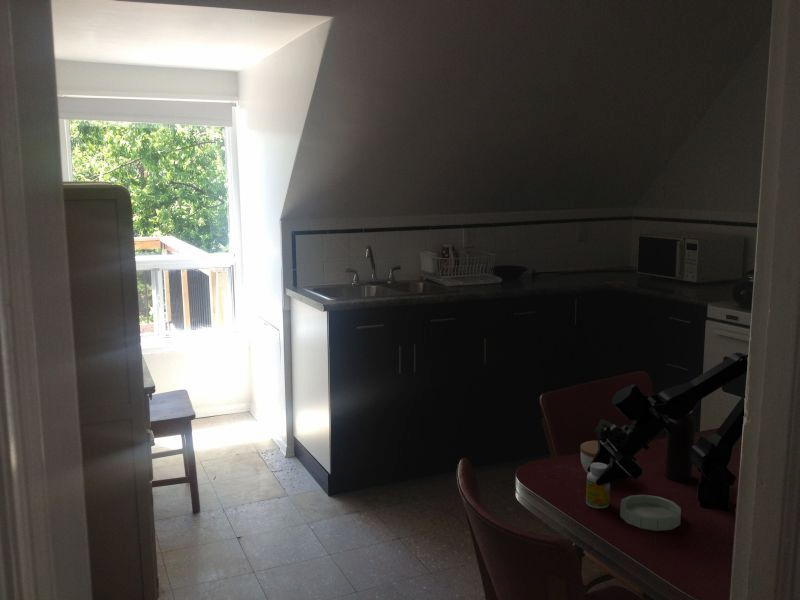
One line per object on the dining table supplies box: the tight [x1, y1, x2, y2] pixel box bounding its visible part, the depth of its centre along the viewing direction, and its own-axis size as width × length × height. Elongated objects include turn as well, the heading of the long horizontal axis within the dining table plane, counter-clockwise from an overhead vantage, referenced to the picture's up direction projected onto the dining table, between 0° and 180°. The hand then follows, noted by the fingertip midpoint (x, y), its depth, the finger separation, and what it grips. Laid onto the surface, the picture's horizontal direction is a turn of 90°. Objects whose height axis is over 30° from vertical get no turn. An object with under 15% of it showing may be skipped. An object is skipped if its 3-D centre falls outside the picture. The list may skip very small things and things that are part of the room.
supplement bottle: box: [585, 462, 611, 510], centre depth 176 cm, size 5×5×10 cm
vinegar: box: [664, 410, 696, 482], centre depth 191 cm, size 7×7×20 cm
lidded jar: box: [579, 440, 615, 474], centre depth 193 cm, size 11×11×9 cm
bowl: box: [619, 494, 682, 532], centre depth 169 cm, size 13×13×2 cm
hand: (592, 477), depth 175 cm, fingers open, 7 cm apart
